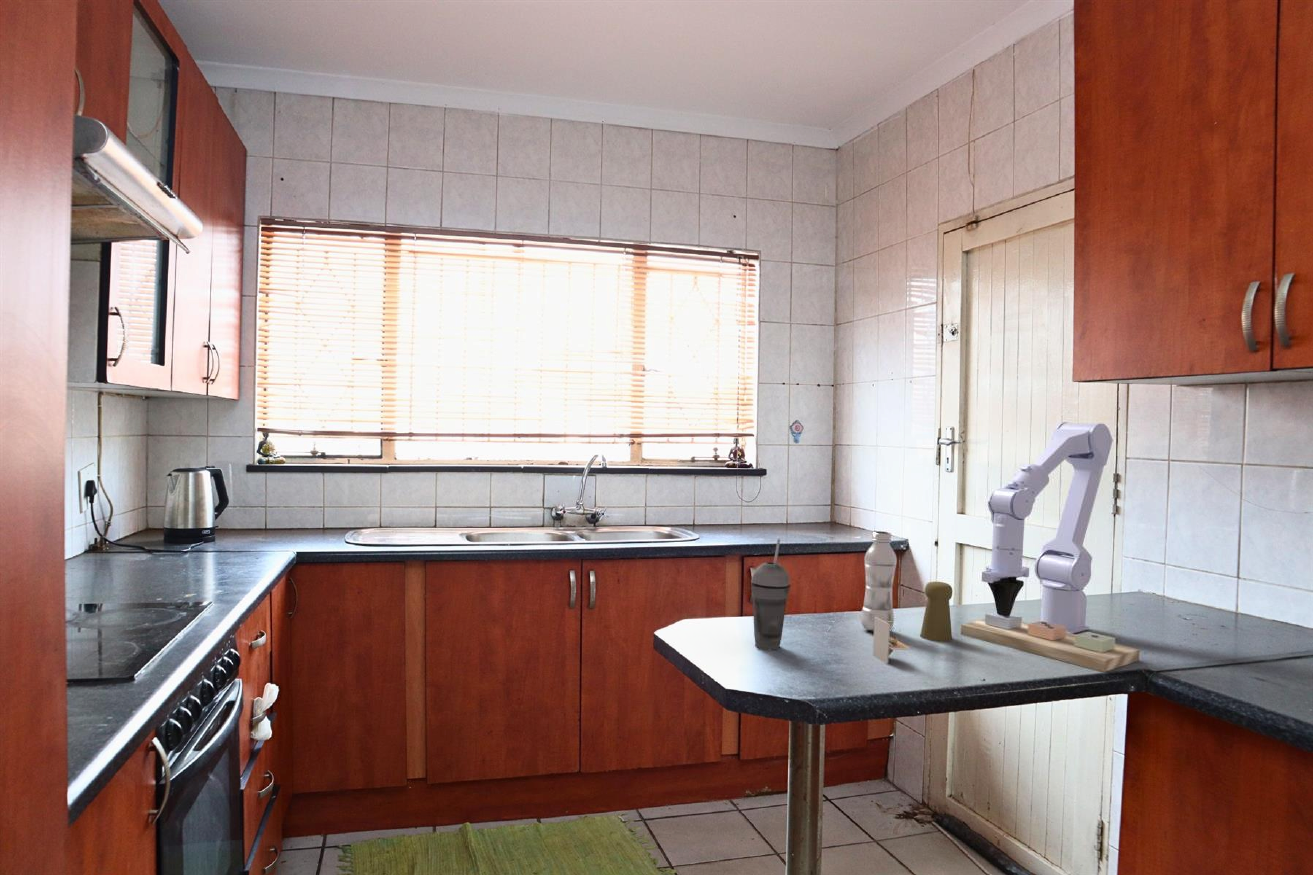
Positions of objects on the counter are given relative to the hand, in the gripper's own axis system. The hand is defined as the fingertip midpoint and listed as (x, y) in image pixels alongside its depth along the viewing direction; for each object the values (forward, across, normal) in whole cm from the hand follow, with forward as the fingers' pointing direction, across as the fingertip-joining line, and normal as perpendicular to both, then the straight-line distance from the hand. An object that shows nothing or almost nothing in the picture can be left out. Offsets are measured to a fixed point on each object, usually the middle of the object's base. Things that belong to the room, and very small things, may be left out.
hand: (1003, 614), depth 168 cm
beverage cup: (+4, +49, -18) cm, 52 cm away
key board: (+4, 0, +9) cm, 10 cm away
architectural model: (+5, +36, -2) cm, 36 cm away
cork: (+4, +14, -6) cm, 16 cm away
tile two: (+2, 0, 0) cm, 2 cm away
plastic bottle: (+4, +21, -15) cm, 26 cm away
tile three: (+2, 0, +9) cm, 9 cm away
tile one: (+2, 0, +18) cm, 18 cm away
